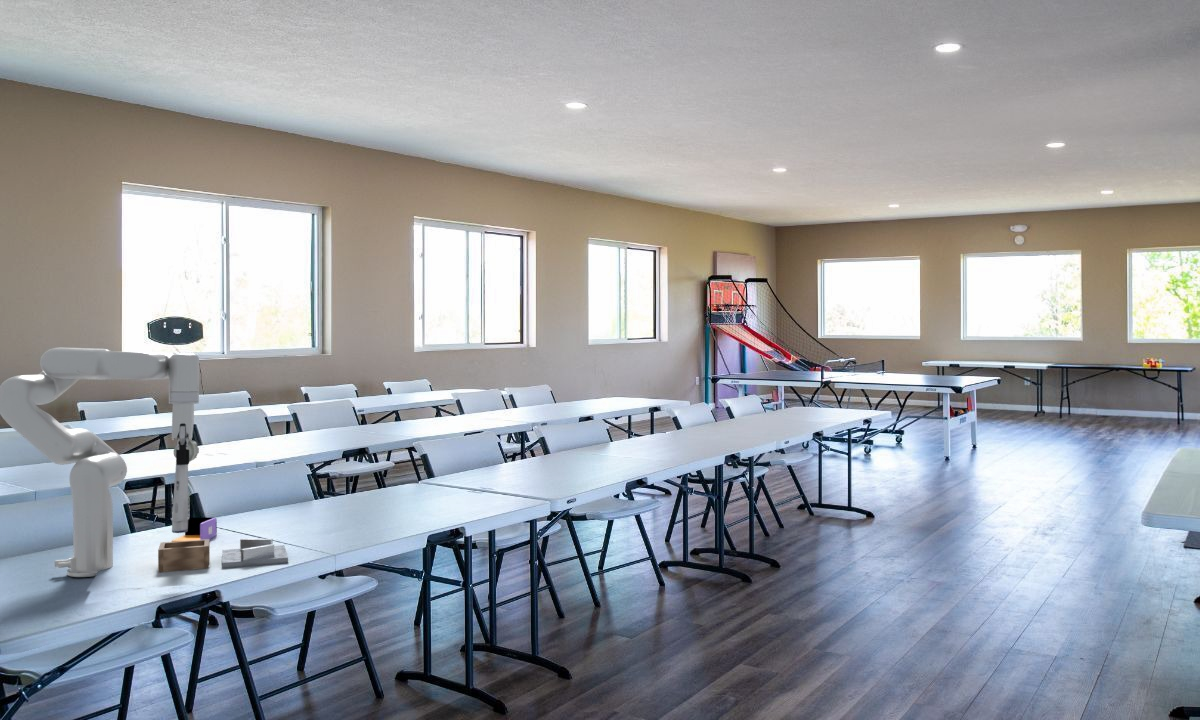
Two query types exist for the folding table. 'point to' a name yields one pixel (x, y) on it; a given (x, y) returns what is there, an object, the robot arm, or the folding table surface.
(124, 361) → the robot arm
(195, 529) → the dollhouse room
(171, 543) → the open wooden box
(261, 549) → the v block
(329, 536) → the folding table surface
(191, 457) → the handheld massager
